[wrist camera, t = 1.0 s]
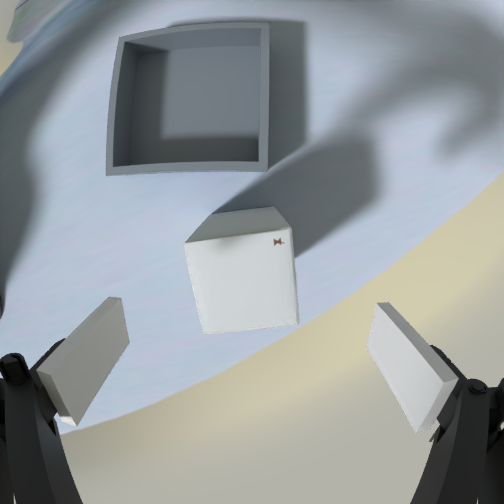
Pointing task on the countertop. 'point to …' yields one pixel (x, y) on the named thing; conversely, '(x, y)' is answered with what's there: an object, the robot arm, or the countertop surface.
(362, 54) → the countertop surface
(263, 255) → the supplement box
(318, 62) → the countertop surface
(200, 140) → the grey bin
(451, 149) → the countertop surface
